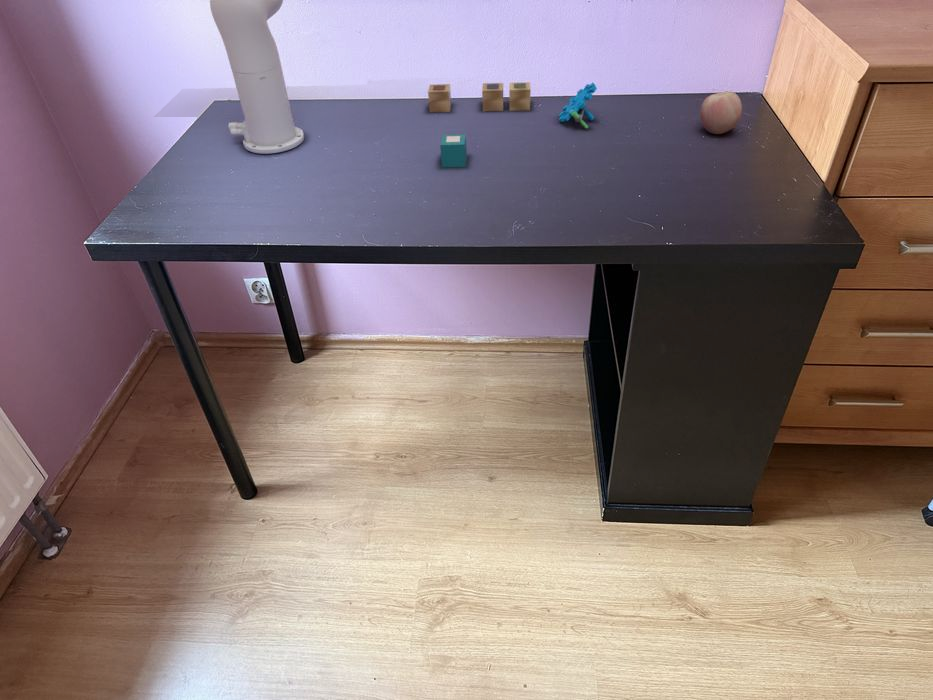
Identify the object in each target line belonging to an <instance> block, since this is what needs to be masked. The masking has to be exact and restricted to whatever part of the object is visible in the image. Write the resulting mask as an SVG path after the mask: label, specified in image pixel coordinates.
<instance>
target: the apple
mask: <svg viewBox="0 0 933 700" xmlns="http://www.w3.org/2000/svg"><path fill="white" fill-rule="evenodd" d="M742 113H743V103H742V100H741V99H740V96H739V95H738V94H737V93H736V92H734V91H731V90H727V91H722V92H717V93H713V94H710V95H708V96H707V97H706V98H705V99H704V100H703V101H702V103H701V106H700V111H699V117H700V121H701V124H702V126H703V127H704V129H705V130H706V131H707V132H708V133H710V134H713V135H721V134H725V133H727V132H729V131H731V130H732V129H734V128H735V127H736V126H737V125H738V123H739V122H740V121H741V117H742Z"/></svg>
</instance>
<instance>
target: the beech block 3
mask: <svg viewBox="0 0 933 700" xmlns="http://www.w3.org/2000/svg"><path fill="white" fill-rule="evenodd" d="M508 98H509V100H508V101H509V102H508V103H509V107H508V108H509V109H508V110H509V111H510V112H513V111H516V112H517V111H520V112H521V111H531V82H529V81H528V82H527V81H526V82H509V97H508Z"/></svg>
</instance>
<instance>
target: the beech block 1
mask: <svg viewBox="0 0 933 700" xmlns="http://www.w3.org/2000/svg"><path fill="white" fill-rule="evenodd" d="M451 93H452V91H451V84H450V83H447V84H446V83H444V84H443V83H442V84H441V83H440V84H429V87H428V91H427V96H428V110H429V113H451V109H452V94H451Z"/></svg>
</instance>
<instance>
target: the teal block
mask: <svg viewBox="0 0 933 700" xmlns="http://www.w3.org/2000/svg"><path fill="white" fill-rule="evenodd" d="M439 146H440V147H439V148H440V161H441V168H466V167H467V160H468V159H467V158H468V154H467V153H468V152H467V134H465V133H463V134H442V135H441V140H440V145H439Z"/></svg>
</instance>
